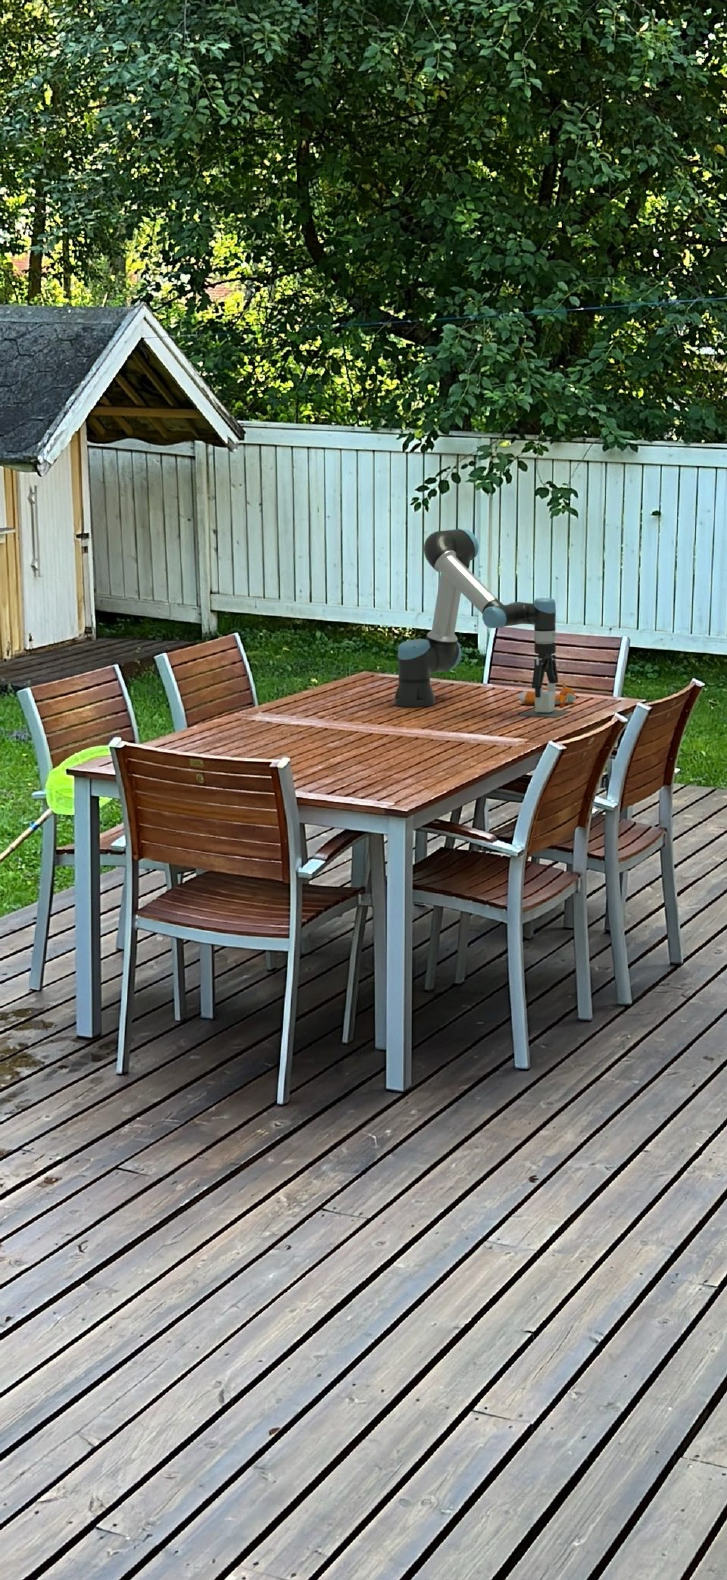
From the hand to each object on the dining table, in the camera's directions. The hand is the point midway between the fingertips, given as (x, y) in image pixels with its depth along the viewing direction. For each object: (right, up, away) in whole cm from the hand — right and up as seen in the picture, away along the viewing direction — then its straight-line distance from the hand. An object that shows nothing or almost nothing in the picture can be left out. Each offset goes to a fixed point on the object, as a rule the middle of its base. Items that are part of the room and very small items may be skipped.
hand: (545, 703), depth 638 cm
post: (0, -3, +1) cm, 3 cm away
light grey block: (0, -2, +1) cm, 2 cm away
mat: (0, -3, +1) cm, 3 cm away
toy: (+3, 0, +20) cm, 21 cm away
